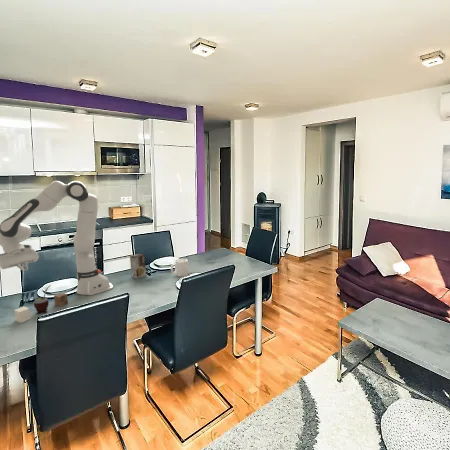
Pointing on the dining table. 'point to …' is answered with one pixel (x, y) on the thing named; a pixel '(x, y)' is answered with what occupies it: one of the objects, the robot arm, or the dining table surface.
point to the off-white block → (22, 314)
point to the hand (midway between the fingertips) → (25, 270)
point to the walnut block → (60, 299)
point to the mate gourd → (41, 303)
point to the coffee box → (138, 265)
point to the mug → (180, 267)
